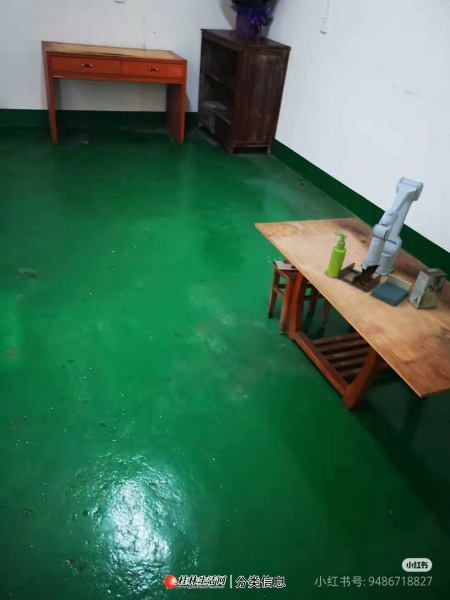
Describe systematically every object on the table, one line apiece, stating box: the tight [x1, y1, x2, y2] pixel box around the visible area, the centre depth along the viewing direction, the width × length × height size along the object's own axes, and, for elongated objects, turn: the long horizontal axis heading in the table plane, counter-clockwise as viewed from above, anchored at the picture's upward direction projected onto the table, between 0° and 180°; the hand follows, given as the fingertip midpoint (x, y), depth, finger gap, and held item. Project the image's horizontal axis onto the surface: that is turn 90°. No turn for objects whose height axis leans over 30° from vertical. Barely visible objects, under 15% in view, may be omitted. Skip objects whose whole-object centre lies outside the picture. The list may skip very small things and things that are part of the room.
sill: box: [370, 273, 413, 307], centre depth 198 cm, size 14×11×6 cm
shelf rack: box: [337, 262, 383, 293], centre depth 207 cm, size 13×14×4 cm
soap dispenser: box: [326, 231, 348, 279], centre depth 205 cm, size 6×7×20 cm
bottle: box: [360, 272, 374, 286], centre depth 204 cm, size 4×4×7 cm
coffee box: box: [408, 267, 449, 309], centre depth 192 cm, size 9×6×16 cm
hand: (366, 277), depth 205 cm, fingers closed on bottle, 4 cm apart
